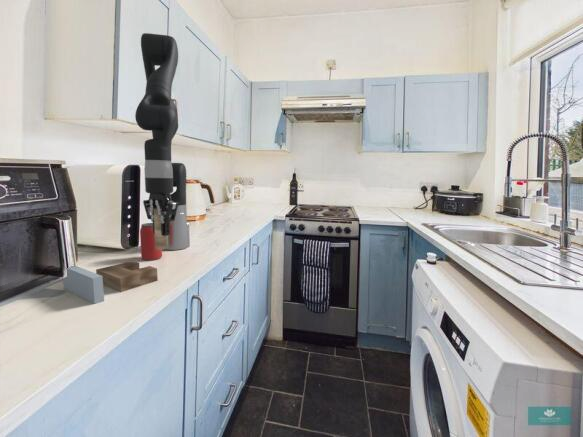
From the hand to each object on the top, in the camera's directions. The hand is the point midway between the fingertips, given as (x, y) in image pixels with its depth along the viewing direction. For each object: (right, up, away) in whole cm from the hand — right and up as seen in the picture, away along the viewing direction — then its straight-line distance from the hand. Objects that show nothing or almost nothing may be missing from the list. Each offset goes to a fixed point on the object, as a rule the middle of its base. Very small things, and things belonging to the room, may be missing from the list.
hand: (161, 234), depth 89 cm
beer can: (-10, -9, +15) cm, 20 cm away
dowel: (0, -4, +1) cm, 4 cm away
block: (-6, -12, -7) cm, 16 cm away
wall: (-12, -14, -17) cm, 25 cm away
